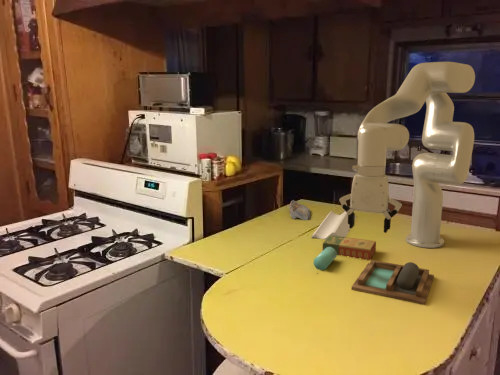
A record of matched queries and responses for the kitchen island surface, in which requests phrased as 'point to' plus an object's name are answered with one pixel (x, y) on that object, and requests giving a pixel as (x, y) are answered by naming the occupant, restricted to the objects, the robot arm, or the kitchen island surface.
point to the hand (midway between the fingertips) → (368, 229)
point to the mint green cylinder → (325, 258)
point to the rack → (392, 282)
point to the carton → (351, 246)
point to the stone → (299, 211)
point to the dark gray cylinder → (408, 276)
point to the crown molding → (333, 226)
